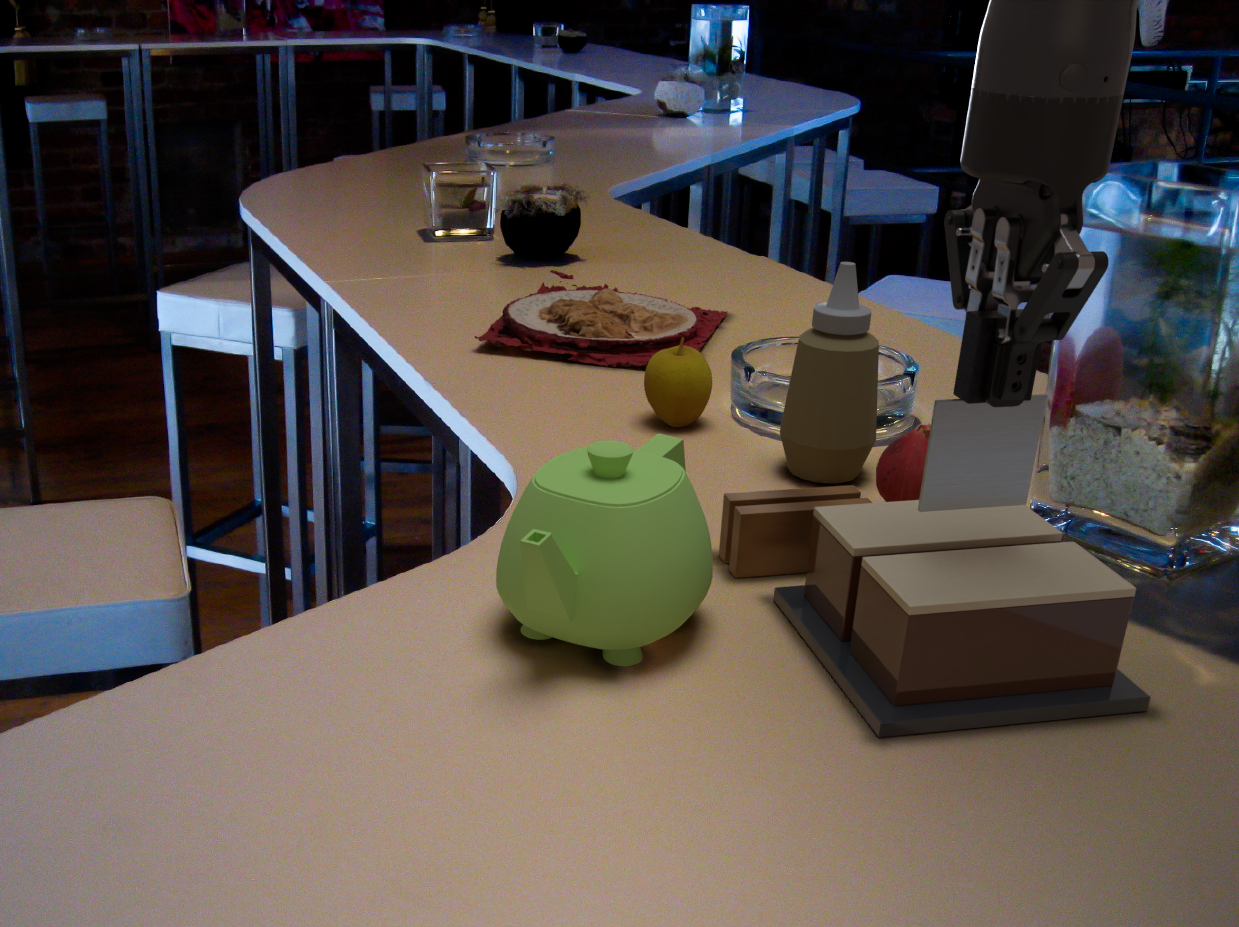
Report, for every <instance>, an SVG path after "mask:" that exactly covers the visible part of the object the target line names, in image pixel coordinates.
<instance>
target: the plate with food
mask: <svg viewBox="0 0 1239 927" xmlns="http://www.w3.org/2000/svg"><path fill="white" fill-rule="evenodd" d="M549 272H550V273H551V274H554V275H557V276H558V277H559V278H560V279H563V280H574V279H575V278H574V274H569V275H568V273H564V272H560V271H557V270H554V269H551V270H549ZM559 283H562V280H560V281H559ZM568 284H569V282H566V285H568ZM571 287H576V288H575V289H567V288H566V287H565V286H564V285H561V286H560V285H554V284H553V285H551V286H550V287H549V286H548V285H545V282H544V281H543V282H542V283H541V285H540V286H539V288H538V289H537V291H536V292H534V293H529V295H526V296H524V297H518V298H517V299H514V300H511V301H510V302H509V303H507V304H506V305H505V306H504V307H503V309H502V312H501V313H502V315H501V316H500V317H498V318H497V319H496V320H495V321H494V322H493V323H491V324H490V326H489V328H488V329H487V331H486V332H484V333H483V334H482V335H479V336H476V335H474V339H476V340H478V341H479V342H484V341H486V342H487V343H488V344H491V346H494V347H508V346H510V347H511V346H514V347H519V349H520V350H523V351H525V352H534V351H535V352H536V351H537V353H538V352H539V351H540V352H546V353H550V354H551V353H553V354H562V355H566V354H568V355H572V356H571V357H569V358H567V360H568V361H573V362H576V361H577V362H580V363H584V364H594V365H599V366H606V367H609V366H610V367H614V368H616V367H617V366H620V367H639V368H640V367H641V366H643V367H647V365H648V363H649V360H650V359H651V358H652V356H653V355H655V354H656V353H657V352H659V351H661V350H664V349H668V348H672V347H675V346H680V342H681V339H682V337H683V338H684V342H683V344H682V346H688V347H691V348H693V349H695V350H697V351H698V352H699V353H700V350H701V348H702V347H704V345H705V343H706V341H707V339H708V338H710V336H711V335H712V334H713V333H714V332H715V331H716V328H717V327H718V326H720V323H721V322H722V320H724V319H725V318H726V316H727V314H728V310H727V311H724V310H721V311H719V310H715V309H713V310H711V309H705V308H703V309H702V308H701V307H700V306H692V307H690V308H689V307H686V306H685V305H682V304H681V303H678V302H675V301H674V302H673V301H672V300H669V301H668V299H667V298H662V297H657V296H652V295H647V294H643V293H638V292H630V291H629V292H625V291H619V289H618V288H617V287H616V286H615V287H614V288H609V285H608V284H607V283H604V285H603V286H602V285H596V286H595V285H594V286H587V285H584V284H583V285H582V286H578V285H577V284H571ZM560 359H563V357H560Z"/></svg>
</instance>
